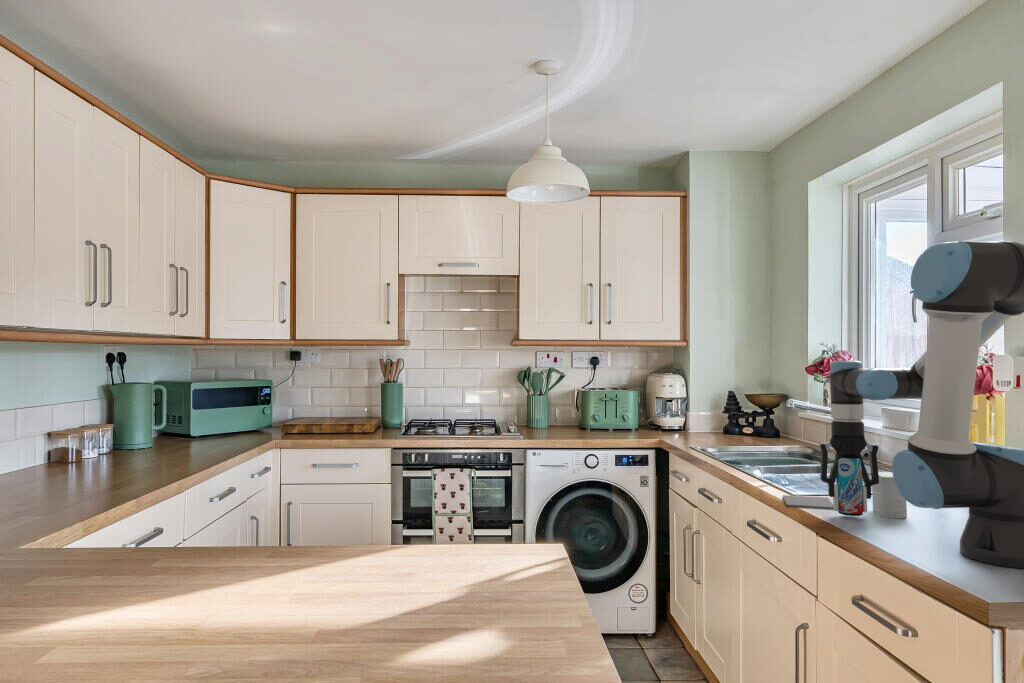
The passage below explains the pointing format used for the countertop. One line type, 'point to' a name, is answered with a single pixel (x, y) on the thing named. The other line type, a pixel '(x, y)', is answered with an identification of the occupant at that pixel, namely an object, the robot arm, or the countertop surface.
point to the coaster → (808, 502)
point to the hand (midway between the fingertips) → (850, 510)
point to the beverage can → (850, 486)
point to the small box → (888, 497)
